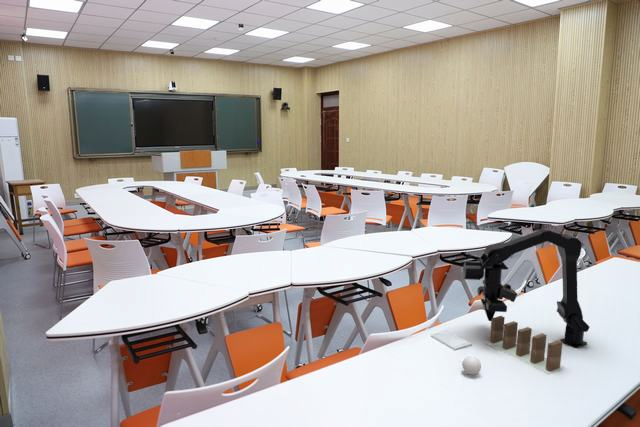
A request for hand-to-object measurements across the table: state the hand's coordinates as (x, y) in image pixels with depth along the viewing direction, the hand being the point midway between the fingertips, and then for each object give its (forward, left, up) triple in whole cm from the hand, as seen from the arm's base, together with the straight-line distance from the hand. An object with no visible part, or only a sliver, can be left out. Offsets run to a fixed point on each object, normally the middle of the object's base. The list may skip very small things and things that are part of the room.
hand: (489, 320), depth 165 cm
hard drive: (+14, -5, -8) cm, 17 cm away
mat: (0, +14, -7) cm, 16 cm away
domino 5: (0, +26, -7) cm, 26 cm away
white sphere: (+25, +13, -7) cm, 29 cm away
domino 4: (0, +20, -7) cm, 21 cm away
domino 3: (0, +14, -7) cm, 16 cm away
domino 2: (0, +9, -7) cm, 11 cm away
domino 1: (0, +3, -7) cm, 7 cm away
